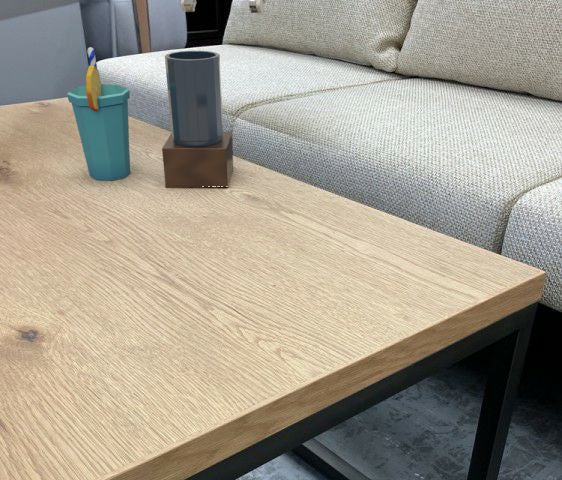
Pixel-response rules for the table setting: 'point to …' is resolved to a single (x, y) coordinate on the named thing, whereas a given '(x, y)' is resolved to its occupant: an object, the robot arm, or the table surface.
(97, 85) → the cup
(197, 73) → the slate cup
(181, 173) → the walnut block
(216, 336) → the table surface
